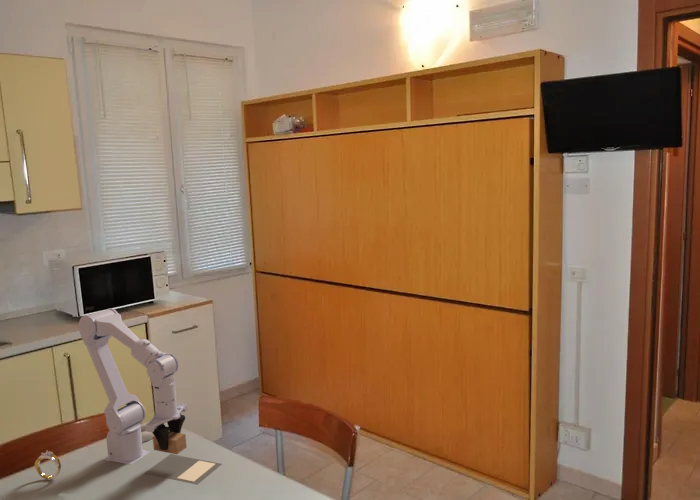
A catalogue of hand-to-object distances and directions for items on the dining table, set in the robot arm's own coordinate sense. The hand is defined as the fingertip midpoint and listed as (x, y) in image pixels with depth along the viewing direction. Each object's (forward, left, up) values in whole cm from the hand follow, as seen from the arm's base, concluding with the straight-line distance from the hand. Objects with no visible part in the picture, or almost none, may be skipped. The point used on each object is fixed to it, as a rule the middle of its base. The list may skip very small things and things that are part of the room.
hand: (169, 445), depth 158 cm
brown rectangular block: (0, 0, -1) cm, 1 cm away
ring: (-29, -16, -7) cm, 34 cm away
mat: (+4, 0, -7) cm, 8 cm away
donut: (-22, +12, -7) cm, 26 cm away
